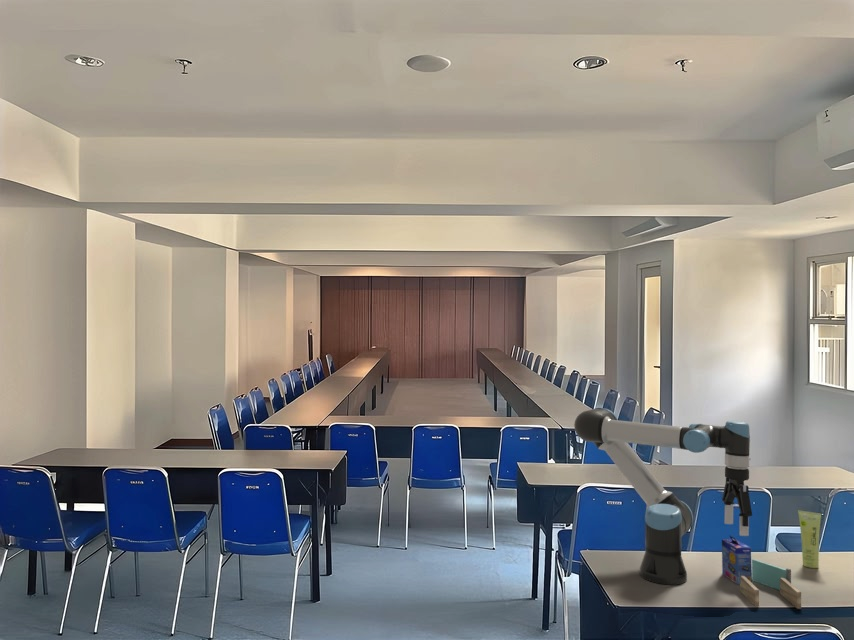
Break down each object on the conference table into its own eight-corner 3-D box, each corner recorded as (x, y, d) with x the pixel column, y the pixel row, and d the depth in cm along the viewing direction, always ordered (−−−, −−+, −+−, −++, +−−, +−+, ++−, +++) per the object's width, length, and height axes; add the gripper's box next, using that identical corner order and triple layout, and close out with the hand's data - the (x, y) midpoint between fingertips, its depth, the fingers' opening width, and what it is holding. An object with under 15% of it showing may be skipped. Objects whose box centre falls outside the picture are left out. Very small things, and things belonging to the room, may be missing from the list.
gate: (792, 593, 211) (792, 569, 212) (789, 593, 211) (789, 570, 211) (754, 579, 223) (754, 557, 223) (751, 580, 222) (751, 558, 223)
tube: (805, 568, 235) (805, 513, 236) (798, 563, 240) (797, 509, 241) (821, 568, 235) (821, 513, 235) (813, 564, 240) (813, 510, 240)
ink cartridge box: (720, 574, 228) (720, 532, 229) (736, 573, 229) (735, 531, 229) (736, 584, 218) (736, 540, 219) (752, 584, 219) (752, 540, 219)
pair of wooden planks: (754, 606, 200) (754, 589, 201) (740, 591, 212) (740, 575, 213) (801, 608, 199) (801, 592, 199) (784, 593, 211) (784, 577, 211)
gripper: (763, 475, 212) (762, 541, 212) (734, 460, 237) (733, 519, 237) (739, 474, 213) (738, 540, 212) (713, 459, 238) (712, 518, 237)
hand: (736, 529), depth 224 cm, fingers open, 13 cm apart
